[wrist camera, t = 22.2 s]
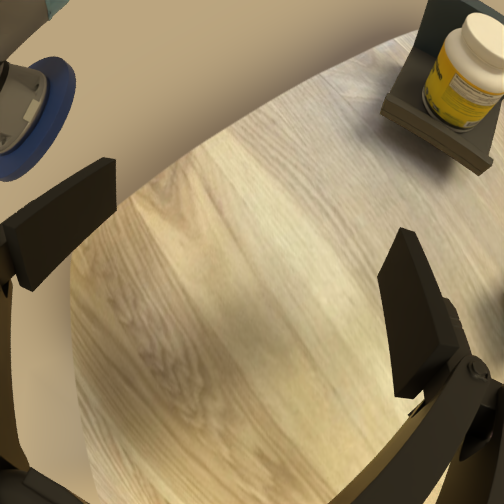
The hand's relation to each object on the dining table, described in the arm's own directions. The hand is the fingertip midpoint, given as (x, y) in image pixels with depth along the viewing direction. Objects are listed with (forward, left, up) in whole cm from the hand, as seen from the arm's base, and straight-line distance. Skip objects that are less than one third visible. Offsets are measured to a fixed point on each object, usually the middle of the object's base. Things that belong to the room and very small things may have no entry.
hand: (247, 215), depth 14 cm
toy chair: (+7, +21, -18) cm, 29 cm away
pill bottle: (+8, +20, -12) cm, 24 cm away
